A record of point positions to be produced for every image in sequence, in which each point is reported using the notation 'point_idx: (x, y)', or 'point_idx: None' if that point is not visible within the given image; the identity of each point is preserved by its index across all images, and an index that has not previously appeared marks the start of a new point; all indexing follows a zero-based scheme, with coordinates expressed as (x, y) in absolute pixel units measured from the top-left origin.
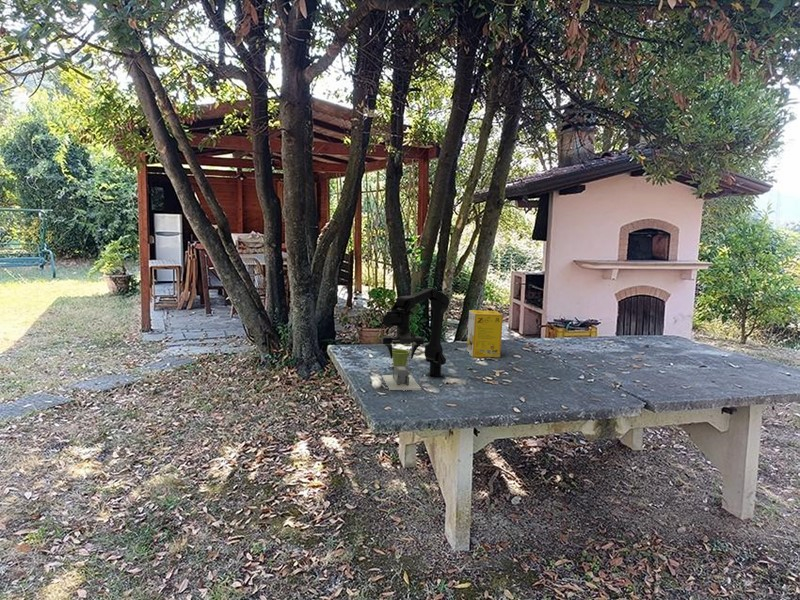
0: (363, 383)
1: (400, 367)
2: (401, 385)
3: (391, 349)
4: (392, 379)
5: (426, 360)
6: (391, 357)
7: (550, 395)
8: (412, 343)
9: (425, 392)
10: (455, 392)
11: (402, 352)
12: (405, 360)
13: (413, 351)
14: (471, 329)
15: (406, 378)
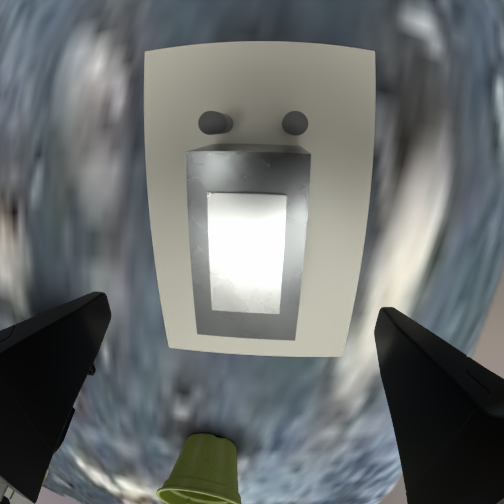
0: (474, 238)
1: (249, 287)
2: (273, 110)
3: (477, 393)
4: (304, 268)
5: (71, 411)
6: (401, 315)
7: None
8: (17, 484)
9: (137, 19)
10: (10, 59)
11: (189, 502)
12: (181, 463)
13: (19, 336)
14: (12, 496)
15: (221, 146)
